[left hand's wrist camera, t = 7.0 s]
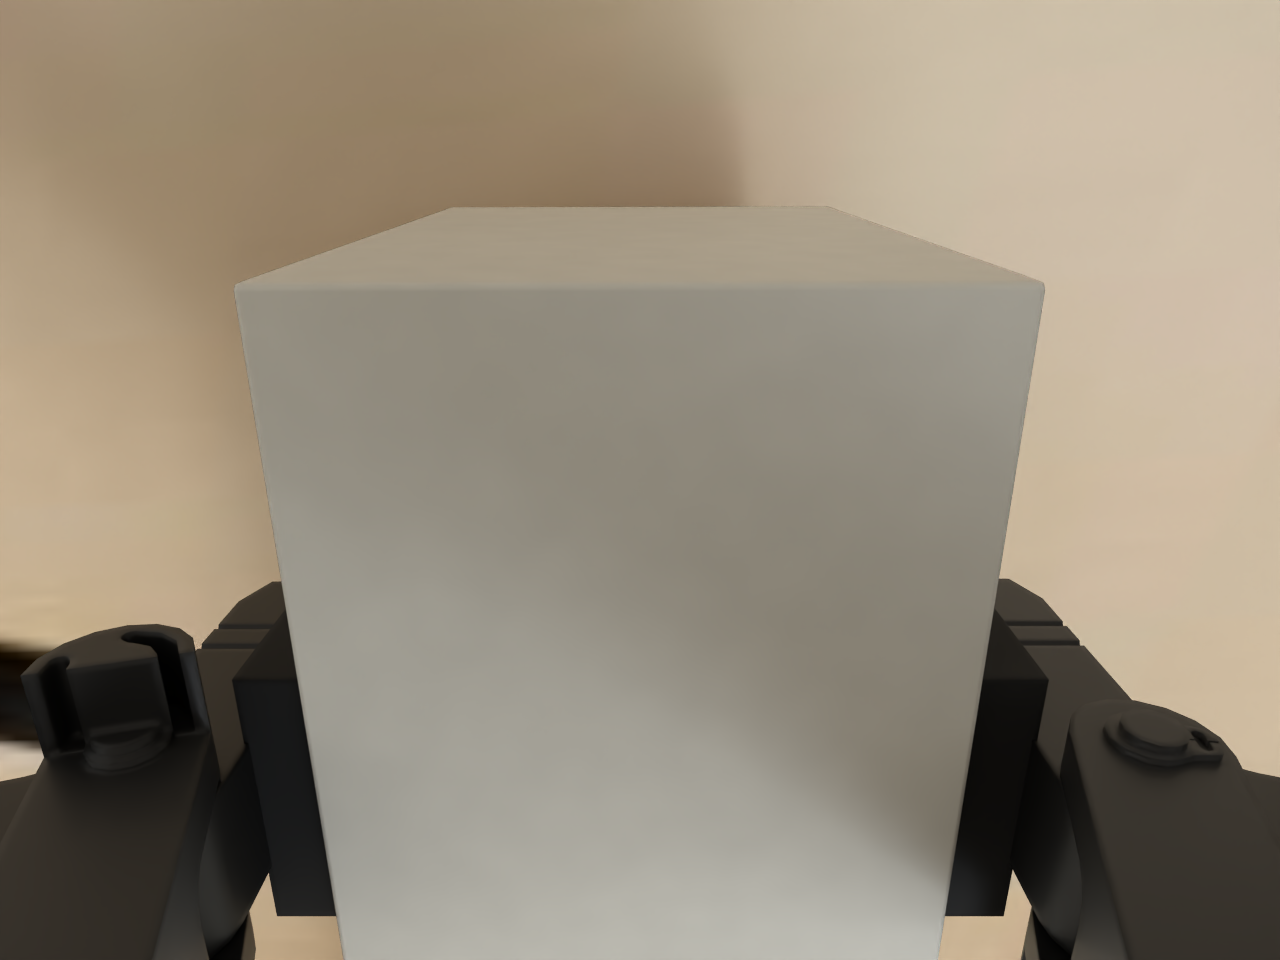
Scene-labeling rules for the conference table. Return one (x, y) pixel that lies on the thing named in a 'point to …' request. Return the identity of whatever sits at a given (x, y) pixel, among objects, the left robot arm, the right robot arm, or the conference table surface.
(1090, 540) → the conference table surface
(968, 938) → the conference table surface
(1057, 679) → the left robot arm
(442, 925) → the beam
